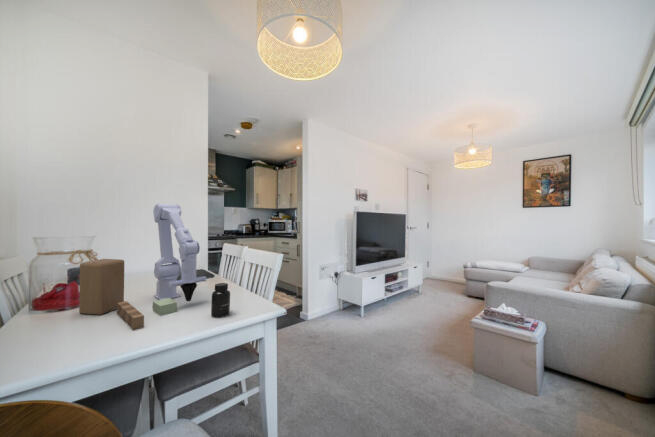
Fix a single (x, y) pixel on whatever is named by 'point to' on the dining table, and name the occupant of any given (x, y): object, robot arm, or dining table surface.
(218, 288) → the supplement bottle
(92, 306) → the block
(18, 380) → the dining table surface
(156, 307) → the sage block
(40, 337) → the dining table surface
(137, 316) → the notched wooden bar
